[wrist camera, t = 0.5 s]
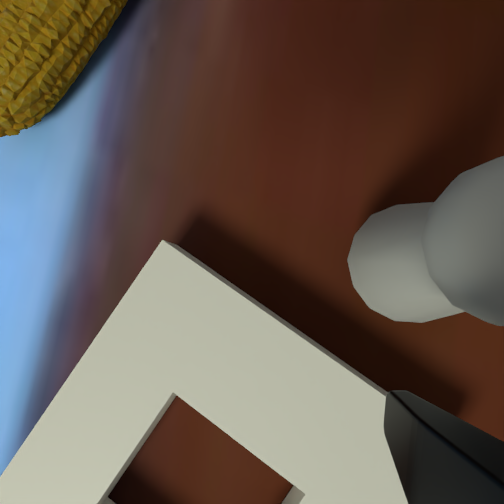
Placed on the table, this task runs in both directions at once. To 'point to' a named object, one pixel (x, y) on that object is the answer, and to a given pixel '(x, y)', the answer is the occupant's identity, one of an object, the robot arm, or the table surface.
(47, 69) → the food
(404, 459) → the robot arm
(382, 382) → the table surface
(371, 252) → the salt shaker
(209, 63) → the table surface
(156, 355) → the socket board
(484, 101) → the table surface
